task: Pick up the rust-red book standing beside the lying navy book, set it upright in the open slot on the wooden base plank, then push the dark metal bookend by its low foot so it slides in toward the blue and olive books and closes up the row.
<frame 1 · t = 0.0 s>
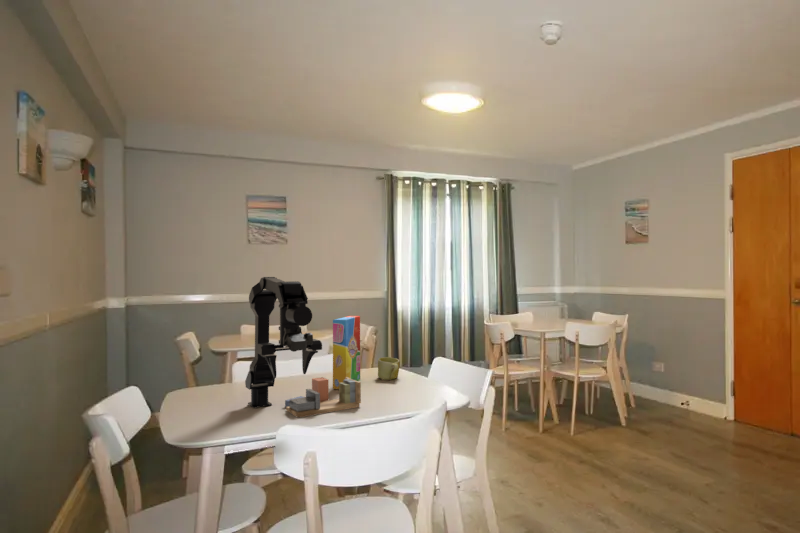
hand: (289, 375, 151), 15 cm above the table, fingers open, 9 cm apart
game box: (347, 384, 206), on the table
wooden base plank: (324, 408, 169), on the table
rust book: (320, 401, 178), on the table
mug: (389, 379, 216), on the table
bookend: (304, 400, 165), point 4 cm above the table, slide at 0.0 cm
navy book: (298, 405, 173), on the table
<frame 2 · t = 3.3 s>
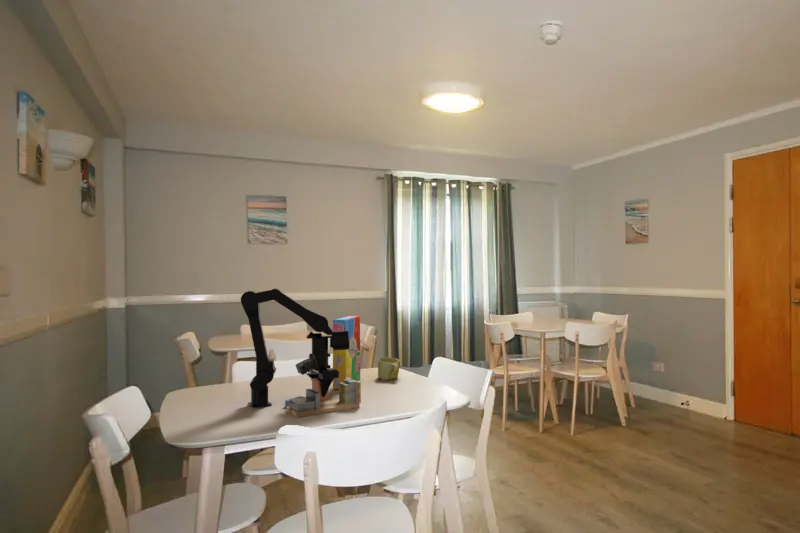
hand: (320, 395, 178), 2 cm above the table, fingers closed on rust book, 5 cm apart
rust book: (320, 401, 178), on the table, touching gripper
everything else where it was.
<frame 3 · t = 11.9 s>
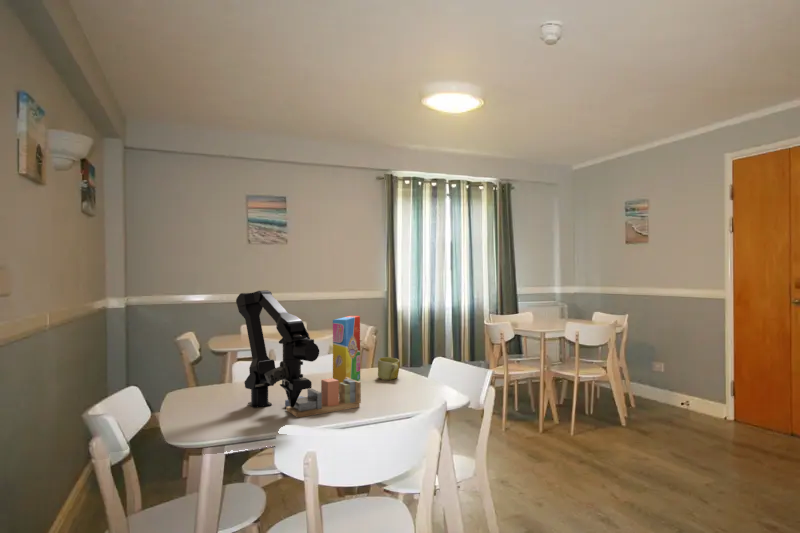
hand: (291, 406, 163), 2 cm above the table, fingers closed, pressing on bookend
rust book: (330, 403, 170), point 1 cm above the table, touching wooden base plank
bookend: (305, 399, 165), point 4 cm above the table, slide at 0.6 cm, touching gripper
everything else where it was.
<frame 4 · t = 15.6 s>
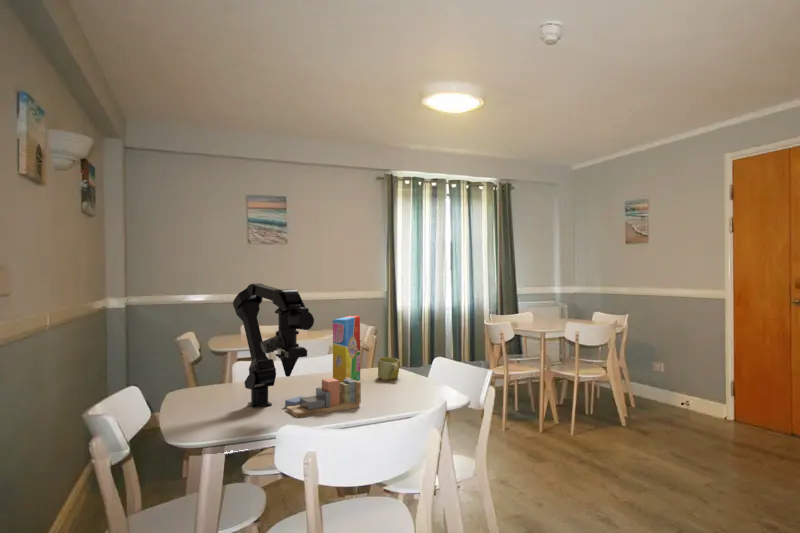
hand: (287, 376, 163), 12 cm above the table, fingers closed
rust book: (330, 403, 170), point 1 cm above the table, touching bookend, wooden base plank
bookend: (314, 398, 167), point 4 cm above the table, slide at 3.7 cm, touching rust book
everything else where it was.
at the end: rust book 1.1 cm from the target spot on the wooden base plank, point 1.2 cm above the wooden base plank's base; rust book tilted 0°; bookend slide at 3.7 cm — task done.
